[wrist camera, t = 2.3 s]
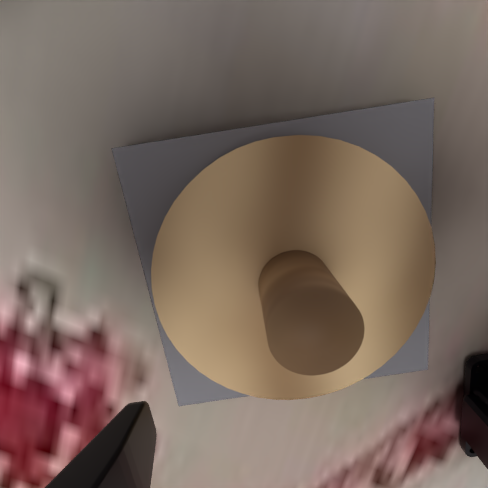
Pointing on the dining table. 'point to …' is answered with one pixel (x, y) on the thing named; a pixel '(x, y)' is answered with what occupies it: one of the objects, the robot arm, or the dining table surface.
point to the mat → (220, 143)
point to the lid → (293, 267)
